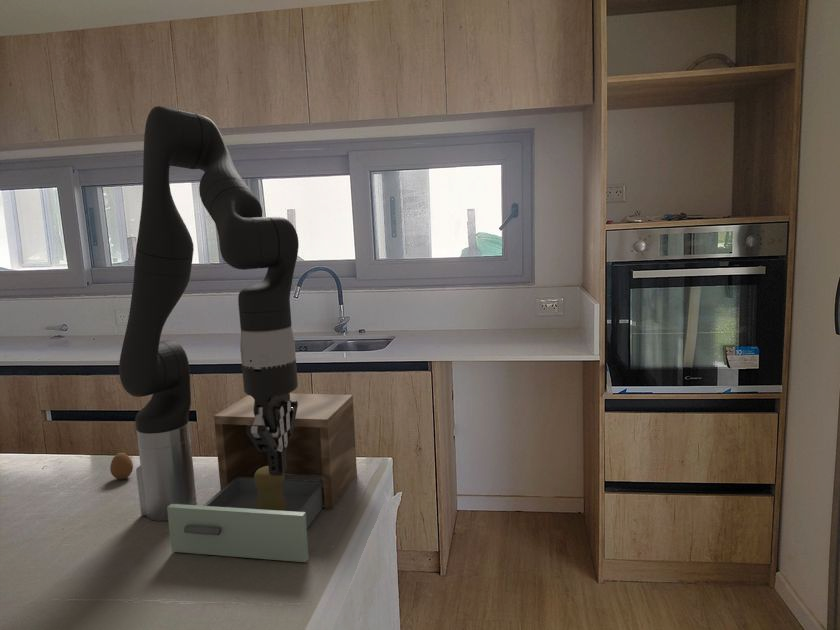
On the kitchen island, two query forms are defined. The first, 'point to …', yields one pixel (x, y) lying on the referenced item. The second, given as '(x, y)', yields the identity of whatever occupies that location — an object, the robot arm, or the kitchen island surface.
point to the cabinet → (294, 442)
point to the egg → (121, 466)
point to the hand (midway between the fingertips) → (278, 473)
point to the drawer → (248, 522)
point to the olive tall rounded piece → (269, 490)
